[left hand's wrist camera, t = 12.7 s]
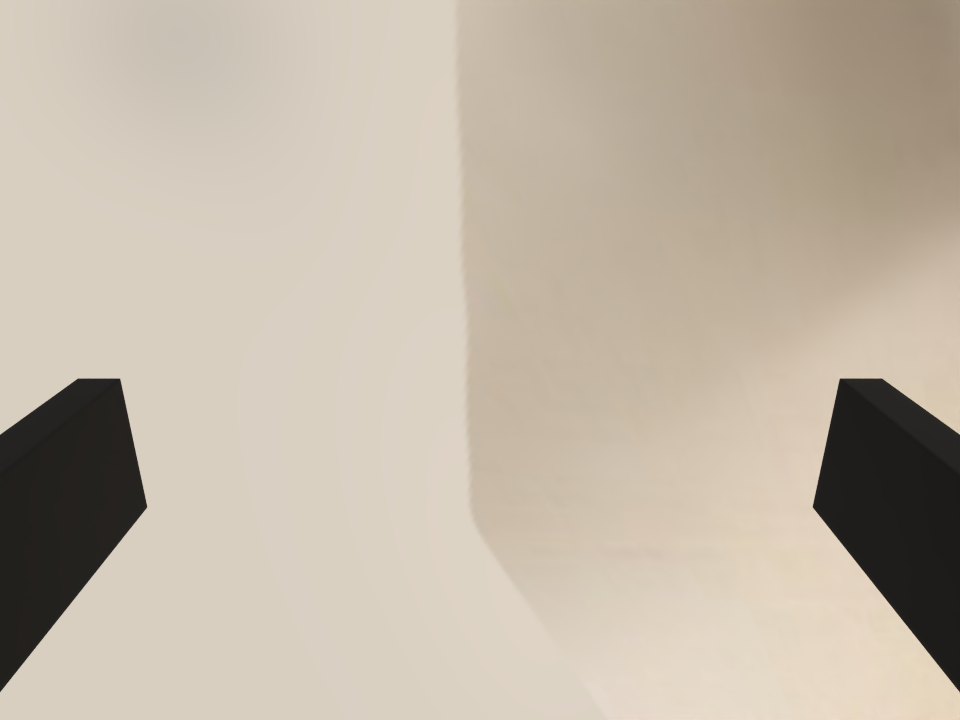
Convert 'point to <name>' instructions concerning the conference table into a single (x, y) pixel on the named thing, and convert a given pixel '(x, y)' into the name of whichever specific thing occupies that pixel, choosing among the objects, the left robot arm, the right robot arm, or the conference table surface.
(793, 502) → the conference table surface
